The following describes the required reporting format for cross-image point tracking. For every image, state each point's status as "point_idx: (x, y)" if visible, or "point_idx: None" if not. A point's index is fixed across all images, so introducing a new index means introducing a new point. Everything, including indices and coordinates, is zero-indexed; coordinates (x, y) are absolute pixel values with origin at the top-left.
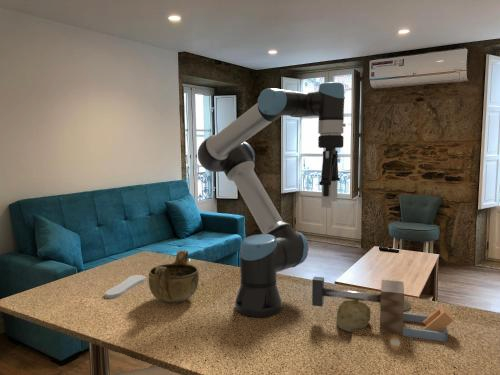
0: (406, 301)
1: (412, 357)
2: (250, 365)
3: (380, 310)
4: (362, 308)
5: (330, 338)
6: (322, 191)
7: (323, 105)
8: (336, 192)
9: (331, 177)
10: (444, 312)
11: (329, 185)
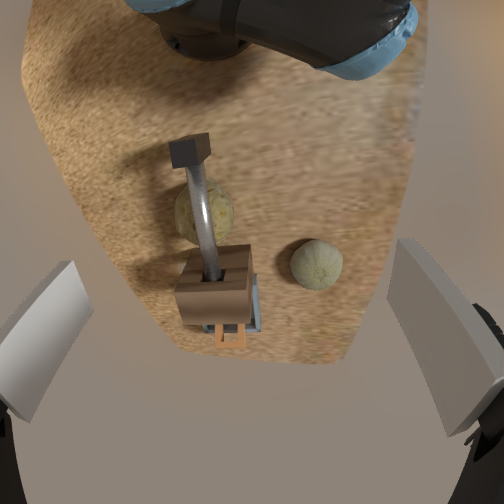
0: (309, 289)
1: (157, 287)
2: (44, 119)
3: (183, 271)
4: (190, 238)
5: (148, 182)
6: (2, 334)
7: None
8: (413, 345)
9: (15, 475)
10: (215, 347)
11: (9, 408)
